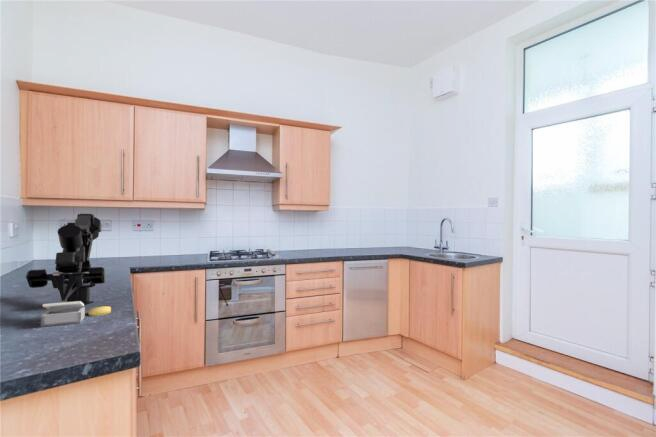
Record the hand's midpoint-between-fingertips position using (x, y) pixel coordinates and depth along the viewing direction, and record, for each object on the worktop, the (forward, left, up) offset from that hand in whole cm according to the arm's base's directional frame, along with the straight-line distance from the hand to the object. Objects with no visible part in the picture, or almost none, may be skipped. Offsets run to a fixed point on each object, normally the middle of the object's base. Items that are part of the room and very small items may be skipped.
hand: (63, 300), depth 96 cm
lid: (-1, -1, -2) cm, 3 cm away
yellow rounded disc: (-11, +3, -7) cm, 13 cm away
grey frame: (-1, -1, -7) cm, 7 cm away
